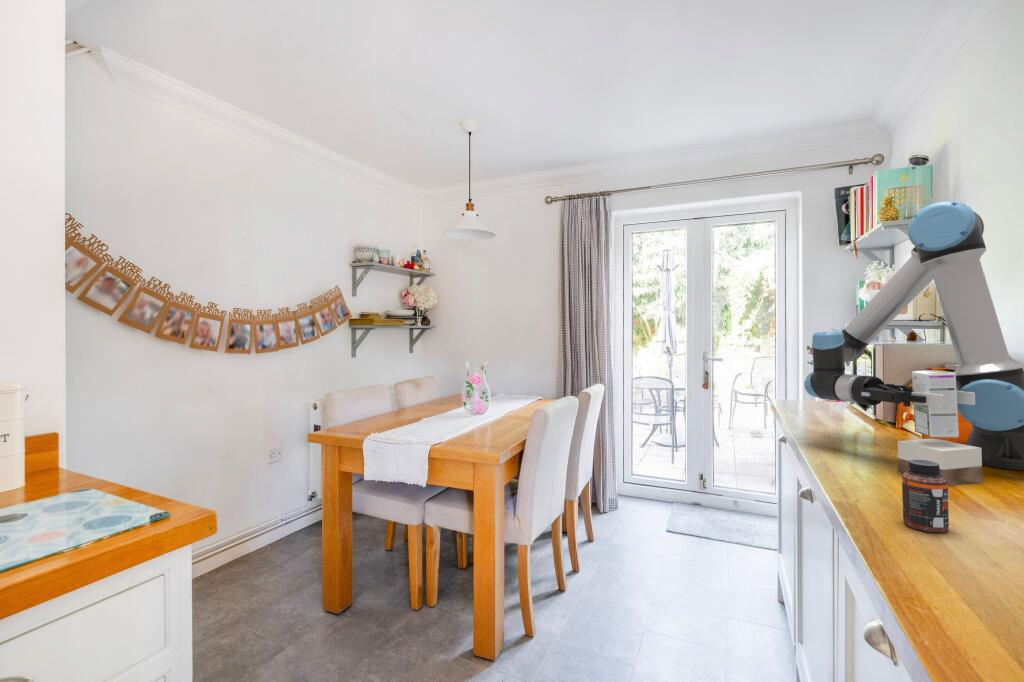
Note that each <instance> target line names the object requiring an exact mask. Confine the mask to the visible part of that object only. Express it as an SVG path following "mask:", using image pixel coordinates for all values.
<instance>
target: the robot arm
mask: <svg viewBox="0 0 1024 682" xmlns="http://www.w3.org/2000/svg"><path fill="white" fill-rule="evenodd" d="M984 230H985V224H984V221H983V219H982V217H981V216H980V215H979V214H978V213H977V212H975V211H974V210H973V209H972V208H971V207H970V206H968V205H967V204H965V203H962V202H959V201H952V200H944V201H943V200H941V201H937V202H934V203H931V204H928V205H926V206H925V207H922V208H921V209H920V210H918V211H917V212H915V214H914V215H913V217H912V218H911V219H910V220H909V223H908V226H907V237H908V239H909V241H910V243H911V244H912V245H913V246H914V247H913V248H912V249H911V250H910V254H911V255H910V257H909V258H908V260H907V261H906V262H905V263H904V264H903V265H902V266H901V267H900V268H899V269H898V270H897V272H895V273H894V275H893V276H892V277H891V278H890V279H889V280H888V281H887V282H886V283H885V285H883V286H882V288H881V289H880V290H879V291H878V292H877V293H876V294H875V295H874V296H873V297H872V298H871V300H869V302H867V304H866V305H865V306H863V308H862V309H861V310H860V311H859V312H858V313H857V315H856V316H855V317H854V318H852V320H850V321H849V323H848V324H847V325H846V326H845V328H844V329H843V330H842V331H839V330H838V331H816V332H814V333H813V334H812V342H811V347H812V365H813V366H812V367H813V371H812V372H811V373H810V372H809V374H808V375H806V378H805V380H804V382H803V383H804V384H803V385H804V389H805V391H806V393H807V394H809V396H811V397H814V398H820V399H822V400H831V401H839V402H845V403H846V402H849V405H855V404H860V405H866V406H877V405H880V404H881V403H882V402H886V403H892V404H895V405H899V404H901V403H902V404H903V406H904V407H911V404H912V405H914V404H917V405H925V406H933V407H941V408H946V396H945V395H940V394H930V393H920V392H913V385H912V386H911V385H906V384H903V385H900V384H899V385H897V384H895V383H884V381H883V380H882V379H881V378H880V377H878V376H874V375H873V376H872V375H871V376H870V375H861V374H850V373H849V374H848V373H846V363H848V362H849V363H850V362H854V361H856V360H857V359H860V357H862V356H863V354H864V352H865V351H864V350H865V349H866V348H867V347H868V346H869V344H871V343H872V341H874V339H875V338H876V337H878V336H879V334H880V333H881V332H882V331H884V330H885V329H886V327H887V326H889V324H890V323H891V322H893V320H894V319H895V318H896V317H898V315H900V313H901V312H902V311H904V309H905V308H906V307H907V306H909V304H910V303H911V302H912V301H914V300H915V298H916V297H917V296H919V294H920V293H922V292H923V290H924V289H926V287H927V286H928V285H929V284H930V283H931V282H932V281H934V282H933V283H934V284H935V285H934V286H935V289H936V292H937V296H938V299H939V303H940V306H941V310H942V313H943V317H944V319H945V324H946V327H947V330H948V334H949V337H950V341H951V345H952V347H953V352H954V353H955V354H954V355H955V358H956V362H957V365H958V366H957V368H956V370H954V371H953V372H954V373H955V375H956V393H957V411H958V414H959V415H961V417H962V418H963V419H964V420H965V421H966V422H968V423H970V425H971V430H970V433H969V435H968V437H967V439H966V440H967V441H966V443H965V445H969V446H974V447H979V448H981V453H982V466H986V467H991V468H996V469H1005V470H1012V471H1013V470H1014V471H1024V367H1023V366H1022V365H1021V364H1018V363H1016V362H1015V361H1013V360H1011V358H1010V355H1009V351H1008V347H1007V345H1006V344H1007V343H1006V341H1005V338H1004V334H1003V332H1002V329H1001V324H1000V321H999V319H998V315H997V311H996V309H995V306H994V302H993V298H992V294H991V293H990V292H991V291H990V288H989V286H988V283H987V279H986V277H985V276H986V275H985V272H984V269H983V266H982V263H981V258H982V256H983V255H984V254H985V253H986V251H987V247H986V244H985V239H984V236H983V235H984Z"/></svg>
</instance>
